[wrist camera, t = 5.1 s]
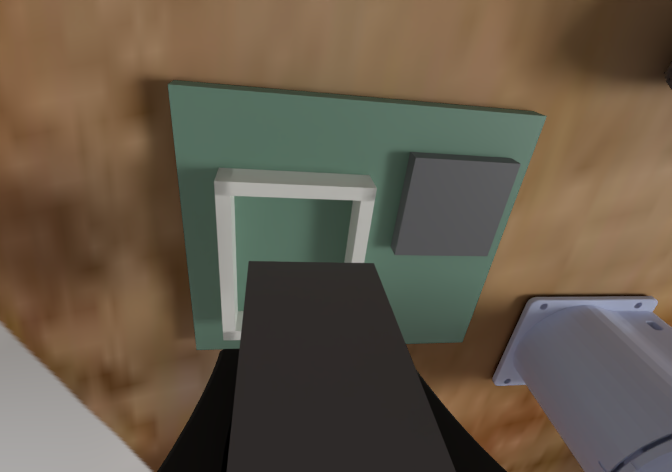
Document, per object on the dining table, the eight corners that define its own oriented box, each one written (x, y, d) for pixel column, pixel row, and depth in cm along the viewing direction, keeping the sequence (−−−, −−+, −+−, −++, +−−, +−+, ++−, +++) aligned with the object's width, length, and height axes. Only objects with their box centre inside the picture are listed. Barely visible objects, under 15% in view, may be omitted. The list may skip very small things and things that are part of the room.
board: (533, 111, 18) (568, 124, 16) (455, 330, 25) (472, 361, 23) (173, 80, 15) (157, 91, 13) (199, 336, 22) (191, 371, 20)
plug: (373, 263, 12) (466, 496, 6) (348, 393, 16) (393, 630, 10) (248, 260, 12) (221, 520, 6) (248, 398, 15) (231, 656, 9)
